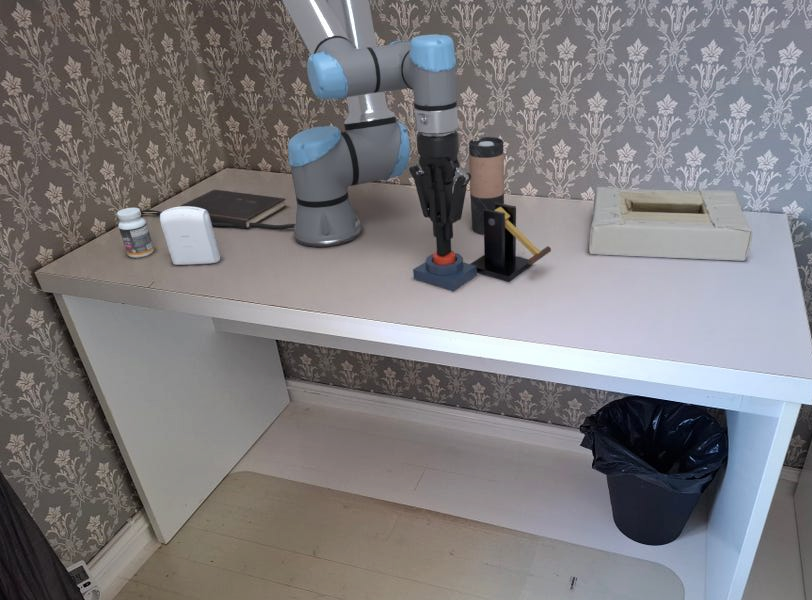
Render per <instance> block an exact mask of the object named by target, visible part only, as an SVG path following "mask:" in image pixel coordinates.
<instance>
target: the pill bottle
mask: <svg viewBox="0 0 812 600" xmlns="http://www.w3.org/2000/svg"><path fill="white" fill-rule="evenodd" d="M116 215H117V218H118V220H119V223H118V225H117V226H118V230H119V233H120V236H121V239H122V243H123V245H124V248H125V252H126V254H127V256H128V257H130V258H135V259H137V258H144V257H148V256H149V255H151V254H152V253H154V251H155V247H154V244H153V240H152V237H151V234H150V230H149V227H148V224H147V221H146V220H145V218H144V217H142V216H141V210H140V208H138V207H127V208H126V207H125V208H123V209H120V210H118V211H117V212H116Z"/></svg>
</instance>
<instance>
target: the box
mask: <svg viewBox="0 0 812 600" xmlns="http://www.w3.org/2000/svg"><path fill="white" fill-rule="evenodd" d="M589 228H590V230H589V237H588V238H589V241H588V253H589V254H590V255H597V256H598V255H601V256H623V257H625V256H626V257H643V258H644V257H646V258H647V257H648V258H666V259H667V258H668V259H669V258H670V259H691V260H692V259H693V260H711V261H712V260H714V261H715V260H716V261H735V262H736V261H738V262H739V261H740V262H744V261H746V260H747V257H748V254H749V251H750V248H751V244H752V239H753V230H752V229H751V227H750V226H749V223H748V221H747V218H746V216H745V214H744V211H743V209H742V206H741V203H740V201H739V199H738V195H737V192H736V191H734V190H728V189H710V190H709V189H701V188H700V189H698V190H677V189H676V190H672V189H647V188H645V189H643V188H620V187H618V186H617V187H616V186H614V187H613V186H597V187H595V189H594V196H593V217H592V222H591V224H590V227H589Z"/></svg>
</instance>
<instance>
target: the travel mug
mask: <svg viewBox="0 0 812 600" xmlns="http://www.w3.org/2000/svg"><path fill="white" fill-rule="evenodd" d="M468 155H469V156H468V159H469V160H468V161H469V173H470V174H471V179H470V180H469V197H470V198H469V199H470V211H471V214H470V215H471V225H472V231H473V232H474V233H475V234H479V235H484V210H485V209H489V210H493V211H494V210H495V204H496V203H502V204H505V175H504V174H505V173H504V172H505V166H504V165H505V163H504V159H505V158H504V157H505V156H504V140H503V139H502V138H500V137H494V136H482V137H480V139H478V140H473V139H471V140H469V142H468Z"/></svg>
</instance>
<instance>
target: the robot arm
mask: <svg viewBox="0 0 812 600" xmlns="http://www.w3.org/2000/svg"><path fill="white" fill-rule="evenodd" d="M281 1H282V3H283V5H284V7H285V9H286V11H287V13H288V14H289V16H290V19H291V20H292V23H293V24H294V26H295V28H296V30H297V32H298V34H299V36H300V37H301V39H302V41H303V43H304V45H305V48H306V49H307V51H308V53H309V57H308V58H307V62H306V68H307V69H306V70H307V78H308V82H309V83H310V89H311V91H312V92H313V94H314V96H315V97H316V98H318V99H319V100H333V99H335V100H341V99H342V100H343V99H346V105H347V110H348V115H347V117H346V119H345V120H344V122H343V125H344V130H345V131H341V130H340V128H338V127H337V126H334V125H325V126H316V127H312V128H311V127H310V128H307V129H305V130H303V131H300V132H298V133H296V134H295V135H294V136H292V137H291V138H290V139H289V141H288V143H287V153H288V155H287V156H288V165H289V167H290V172H291V177H292V184H293V188H294V189H293V190H294V194H295V200H296V206H297V207H296V213H295V223H287V224H270V223H269V224H268V223H263V222H260V223H249V226H251V228H253V227H254V228H263V229H271V230H285V229H293V235H294V240H295V241H296V242H297V243H298V244H300V245H303V246H307V247H312V248H327V247H335V246H339V245H344V244H346V243H349V242H351V241H353V240H355V239H357V238H358V237H359V236H360V235H361V233H362V227H361V222H360V219H359V218H358V216H357V214H356V211H355V209H354V207H353V205H352V203H351V201H350V196H349V190H348V189H349V187H353V186H357V185H362V184H363V185H364V184H368V183H375V182H378V181H379V182H380V181H388V180H390V179H393V178H397V177H401V176H402V175H404V173H405V172H406V171H407V168H408V165H409V162H410V156H411V143H410V138H409V134H408V133H407V128H406V126H405V125H404V124H403V123H401V122H399V121H397V117H396V114H395V113H394V112H393V111H391V110H390V109H389V108H388V105H387V104H388V103H387V99H386V93H385V92H392V91H399V90H407V89H409V90H412V95H413V107H414V117H415V118H414V119H415V129H416V131H417V132H418V133H417V134H416V145H417V146H416V149H417V154H418V155H419V158H418V163H417V164H414V165H412V166H410V167H409V168H408V171H409V173H410V175H411V176H412V178H413V181H414V185H415V189H416V192H417V196H418V201H419V203H420V209H421V212H422V216H423V217H424V218H428V219H429V220H430V221H431V222H432V234H433V237H434V238H435V242H436V251H437V255H439V256H445V255H447V254H449V253H450V252H451V251H452V239H453V238H454V224H455V223H457V222H458V221H461V219H462V216H463V210H464V205H465V199H466V194H467V187H468V184H469V183H470V179H471V174H470V172H465V171H464V170H463V169H462V168H461V164H460V162H459V159H458V155H459V151H460V144H459V143H460V142H459V132H458V131H457V130H458V129H459V118H458V117H459V116H458V114H459V113H458V103H457V101H458V98H457V95H458V94H457V67H456V65H457V58H456V55H455V43H454V40H453V38H452V37H451V36H449V35H446V34H424V35H423V34H422V35H418V36H417V35H416V36H414V37H413V38H411V40H406V39H405V40H394V41H392V42H390V43H388V44H386V45H385V44H384V45H377V39H376V34H375V28H374V23H373V16H372V9H371V5H370V0H281ZM141 211H142V212H157V213H141V217H142V216H143V215H147V214H148V215H149V214H151V215H156V216H160V214H161V213H162V212H163V211H159V210H154V209H144V210H141ZM211 223H212V227H219V228H220V227H222V228H236V227H235V225H233V224H231V223H217V222H211Z"/></svg>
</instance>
